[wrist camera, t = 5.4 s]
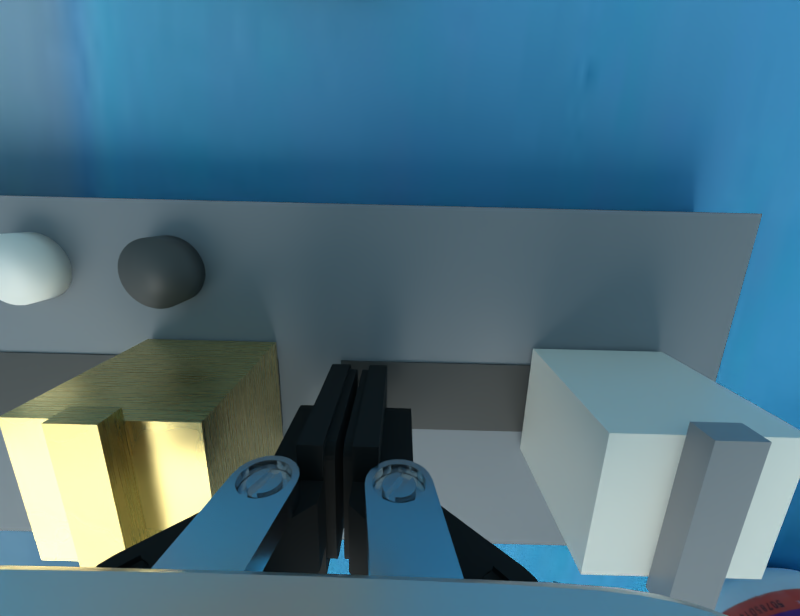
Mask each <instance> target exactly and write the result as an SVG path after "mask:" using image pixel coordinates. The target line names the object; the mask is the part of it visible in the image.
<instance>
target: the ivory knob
mask: <svg viewBox="0 0 800 616" xmlns="http://www.w3.org/2000/svg"><path fill="white" fill-rule="evenodd" d="M520 449H521V451H522V453H523V455H524V457H525V459H526V461H527V464H528V466H529V468H530V470H531V472H532V474H533V476H534V478H535V480H536V482H537V484H538V486H539V489H540V491H541V493H542V495H543V497H544V499H545V501H546V503H547V505H548V507H549V509H550V511H551V513H552V516H553V518H554V520H555V522H556V524H557V526H558V528H559V530H560V532H561V534H562V536H563V538H564V541H565V543H566V545H567V547H568V549H569V551H570V553H571V555H572V557H573V559H574V561H575V563H576V565H577V568H578V570H579V572H580V574H583V575H621V576H648V580H647V584H646V588H647V589H648V591H649V592H650V593H654V594H659V595H663V596H667V597H671V598H675V599H679V600H683V601H687V602H691V603H695V604H698V605H701V606H704V607H706V608H709V609H712V610H715V607H716V604H717V601H718V598H719V595H720V592H721V589H722V586H723V584H724V581H725V578H734V579H762V576H763V574H764V571H765V569H766V566H767V563H768V561H769V558H770V555H771V553H772V550H773V547H774V545H775V542H776V539H777V537H778V534H779V531H780V529H781V526H782V523H783V521H784V518H785V516H786V513H787V510H788V508H789V505H790V502H791V500H792V497H793V494H794V492H795V489H796V486H797V484H798V481H799V478H800V430H799V429H797V428H795V427H794V426H792V425H790V424H788V423H787V422H785V421H783V420H781V419H780V418H778V417H776V416H774V415H772V414H771V413H769V412H767V411H765V410H764V409H762V408H760V407H758V406H757V405H755V404H753V403H751V402H750V401H748V400H746V399H744V398H742V397H741V396H739V395H737V394H735V393H734V392H732V391H730V390H728V389H727V388H725V387H723V386H721V385H719V384H718V383H716V382H714V381H712V380H711V379H709V378H707V377H705V376H704V375H702V374H700V373H698V372H697V371H695V370H693V369H691V368H689V367H688V366H686V365H684V364H682V363H681V362H679V361H677V360H675V359H674V358H672V357H670V356H668V355H666V354H665V353H663V352H649V351H609V350H569V349H533V352H532V360H531V368H530V375H529V383H528V391H527V399H526V406H525V414H524V422H523V430H522V437H521V445H520Z"/></svg>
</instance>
